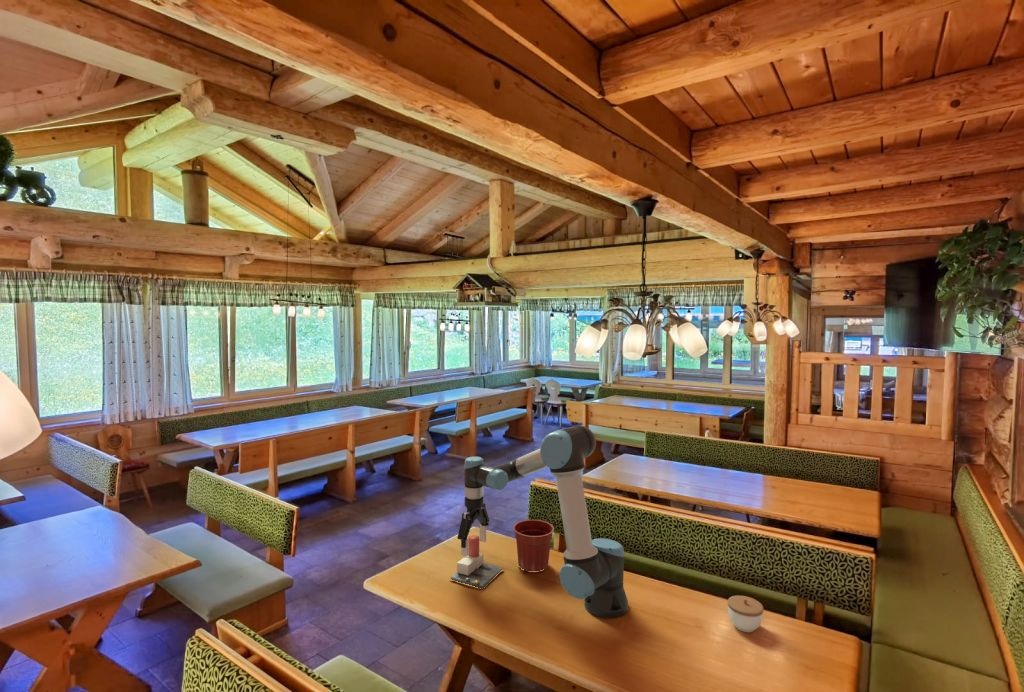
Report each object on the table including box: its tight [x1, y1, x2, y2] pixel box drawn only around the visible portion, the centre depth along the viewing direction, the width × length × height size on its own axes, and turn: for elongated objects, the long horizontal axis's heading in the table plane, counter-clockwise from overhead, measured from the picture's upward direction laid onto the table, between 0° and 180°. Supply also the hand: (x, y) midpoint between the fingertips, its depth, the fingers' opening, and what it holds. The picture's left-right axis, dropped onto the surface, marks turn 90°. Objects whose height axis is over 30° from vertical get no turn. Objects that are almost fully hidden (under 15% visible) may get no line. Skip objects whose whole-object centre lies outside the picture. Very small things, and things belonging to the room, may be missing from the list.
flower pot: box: [512, 519, 555, 572], centre depth 211 cm, size 16×16×16 cm
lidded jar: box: [727, 595, 764, 633], centre depth 170 cm, size 11×11×9 cm
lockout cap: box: [467, 534, 480, 557], centre depth 208 cm, size 4×4×7 cm
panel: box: [450, 561, 504, 589], centre depth 203 cm, size 14×16×2 cm
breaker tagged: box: [465, 552, 484, 569], centre depth 208 cm, size 5×5×4 cm
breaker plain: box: [456, 556, 475, 575], centre depth 203 cm, size 5×5×4 cm
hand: (474, 547), depth 208 cm, fingers open, 13 cm apart
